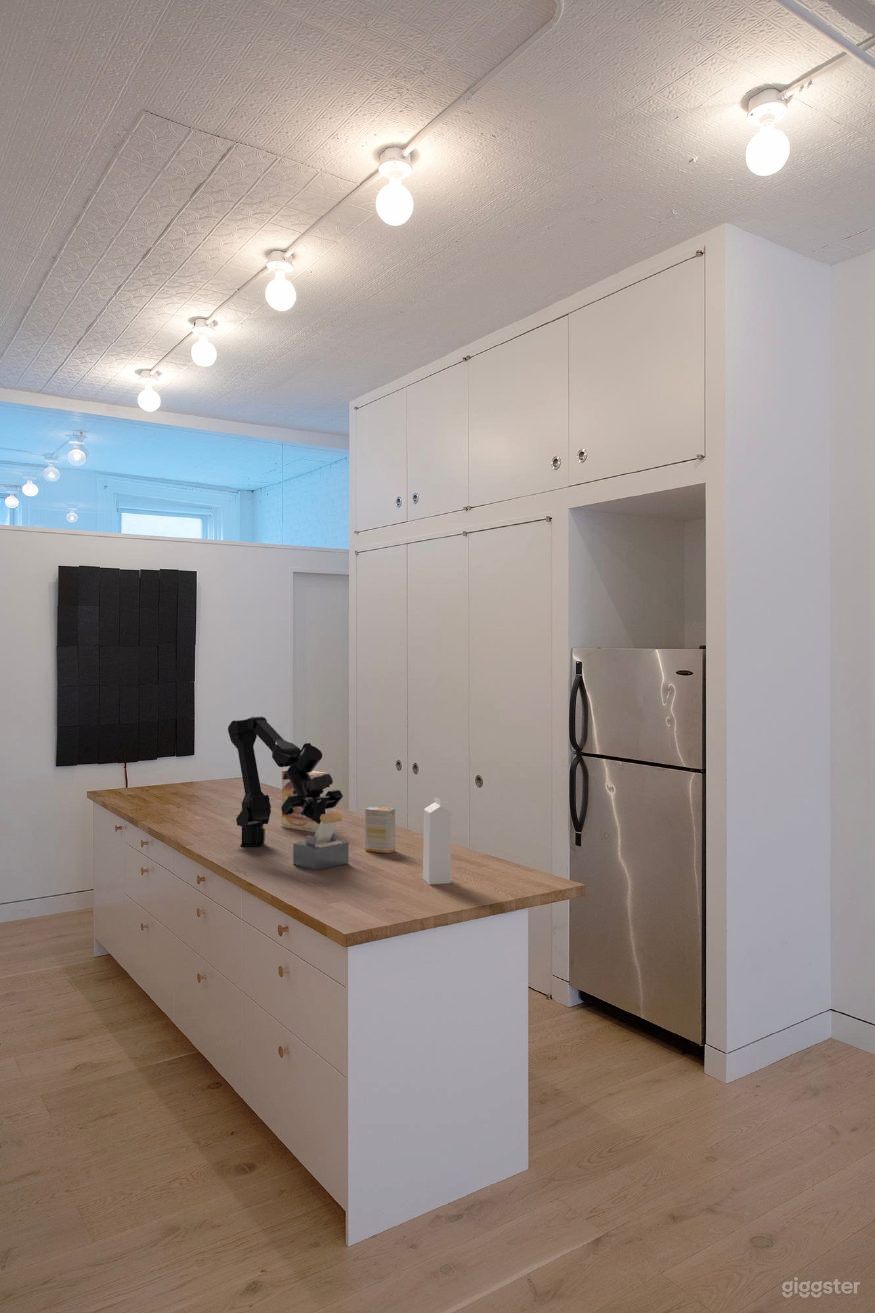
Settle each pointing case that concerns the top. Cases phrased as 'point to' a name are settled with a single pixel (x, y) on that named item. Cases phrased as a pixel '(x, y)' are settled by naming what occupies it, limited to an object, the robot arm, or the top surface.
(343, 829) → the top surface
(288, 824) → the coffeecake box
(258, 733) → the robot arm
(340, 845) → the box
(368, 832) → the supplement box
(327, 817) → the lever
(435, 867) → the milk
